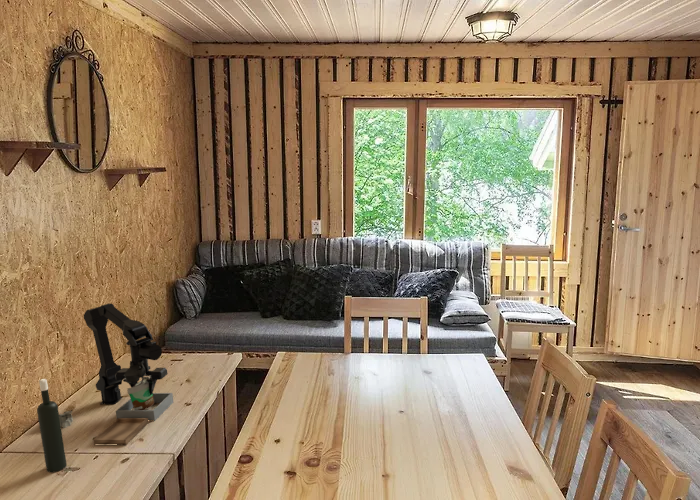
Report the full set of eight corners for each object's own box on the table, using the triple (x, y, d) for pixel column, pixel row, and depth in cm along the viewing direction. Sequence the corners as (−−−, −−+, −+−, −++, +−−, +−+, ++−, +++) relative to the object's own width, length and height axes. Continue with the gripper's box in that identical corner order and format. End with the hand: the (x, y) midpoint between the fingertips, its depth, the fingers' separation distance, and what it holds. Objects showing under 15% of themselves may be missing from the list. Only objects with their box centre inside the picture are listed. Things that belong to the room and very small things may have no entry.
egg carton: (75, 419, 216) (73, 409, 215) (68, 428, 209) (67, 418, 208) (45, 423, 214) (44, 413, 214) (38, 432, 207) (36, 422, 206)
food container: (148, 411, 212) (141, 386, 210) (133, 413, 212) (126, 389, 211) (162, 397, 224) (156, 374, 222) (148, 400, 225) (142, 376, 223)
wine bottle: (45, 474, 177) (31, 384, 172) (47, 465, 182) (33, 378, 177) (66, 469, 179) (52, 380, 174) (67, 461, 184) (53, 374, 179)
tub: (117, 421, 212) (115, 411, 211) (138, 402, 228) (136, 393, 227) (154, 420, 210) (153, 410, 209) (173, 402, 226) (172, 392, 225)
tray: (93, 445, 194) (93, 439, 194) (118, 423, 210) (117, 418, 209) (126, 445, 192) (125, 439, 192) (148, 423, 208) (147, 418, 208)
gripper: (105, 364, 208) (110, 403, 211) (152, 363, 206) (157, 403, 208) (120, 353, 219) (125, 391, 222) (165, 353, 217) (170, 391, 219)
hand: (144, 394), depth 218 cm, fingers closed on food container, 6 cm apart
